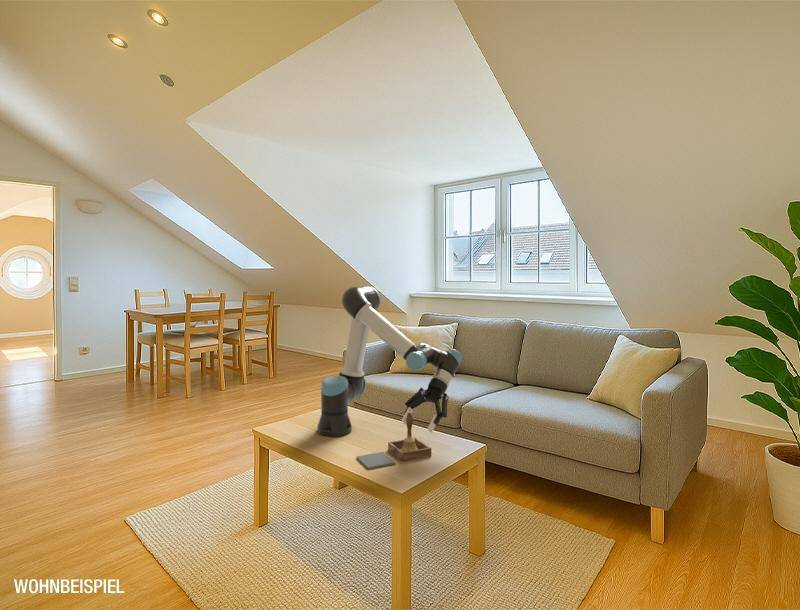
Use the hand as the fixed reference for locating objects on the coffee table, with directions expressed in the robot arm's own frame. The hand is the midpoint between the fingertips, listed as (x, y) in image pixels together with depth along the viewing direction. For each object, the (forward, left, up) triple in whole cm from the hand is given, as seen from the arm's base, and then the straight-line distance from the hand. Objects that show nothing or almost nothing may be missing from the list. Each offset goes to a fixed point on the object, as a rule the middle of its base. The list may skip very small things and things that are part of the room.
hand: (416, 426), depth 186 cm
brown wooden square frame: (0, -3, -10) cm, 11 cm away
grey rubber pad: (+2, -18, -10) cm, 21 cm away
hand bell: (0, -3, -10) cm, 11 cm away
